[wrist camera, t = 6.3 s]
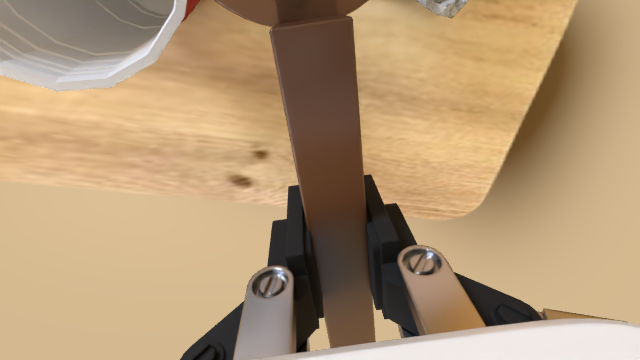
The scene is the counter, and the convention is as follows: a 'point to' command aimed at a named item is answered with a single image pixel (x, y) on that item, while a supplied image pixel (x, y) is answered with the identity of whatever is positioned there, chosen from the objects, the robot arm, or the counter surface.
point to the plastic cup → (84, 39)
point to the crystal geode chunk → (443, 6)
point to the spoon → (325, 148)
